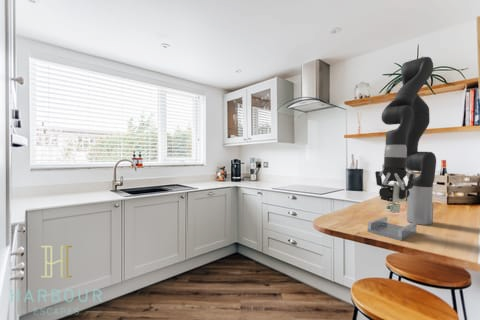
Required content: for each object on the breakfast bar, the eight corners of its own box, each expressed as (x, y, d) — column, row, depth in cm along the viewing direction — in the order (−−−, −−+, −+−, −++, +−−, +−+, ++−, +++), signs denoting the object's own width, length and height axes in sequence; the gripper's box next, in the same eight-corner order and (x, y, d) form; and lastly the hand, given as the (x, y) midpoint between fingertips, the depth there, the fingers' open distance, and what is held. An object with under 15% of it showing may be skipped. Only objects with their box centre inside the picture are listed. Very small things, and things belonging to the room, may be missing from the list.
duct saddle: (384, 224, 106) (384, 216, 106) (416, 232, 96) (416, 223, 96) (367, 231, 96) (367, 222, 96) (401, 240, 86) (401, 230, 86)
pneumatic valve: (408, 212, 95) (411, 183, 95) (387, 213, 91) (390, 183, 91) (395, 209, 101) (397, 181, 100) (375, 210, 97) (377, 181, 96)
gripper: (419, 156, 92) (417, 200, 92) (380, 155, 103) (378, 194, 104) (413, 156, 87) (410, 202, 88) (372, 155, 99) (370, 195, 99)
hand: (393, 197), depth 96 cm, fingers closed on pneumatic valve, 5 cm apart
